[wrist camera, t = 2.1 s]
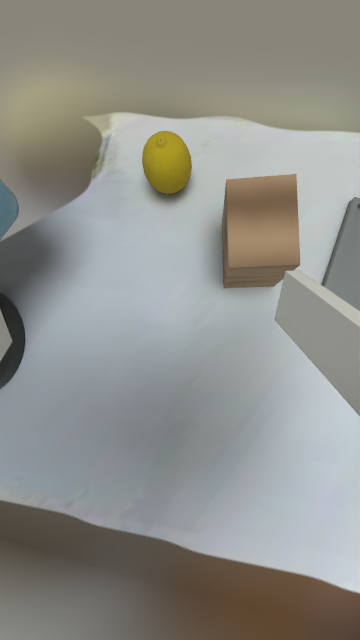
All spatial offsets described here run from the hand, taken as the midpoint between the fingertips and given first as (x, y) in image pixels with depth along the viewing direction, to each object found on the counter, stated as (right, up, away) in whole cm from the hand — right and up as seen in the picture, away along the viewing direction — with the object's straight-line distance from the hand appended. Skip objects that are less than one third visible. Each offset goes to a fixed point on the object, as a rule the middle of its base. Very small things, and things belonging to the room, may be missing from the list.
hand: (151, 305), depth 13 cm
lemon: (0, +17, +23) cm, 28 cm away
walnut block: (+10, +7, +21) cm, 24 cm away
